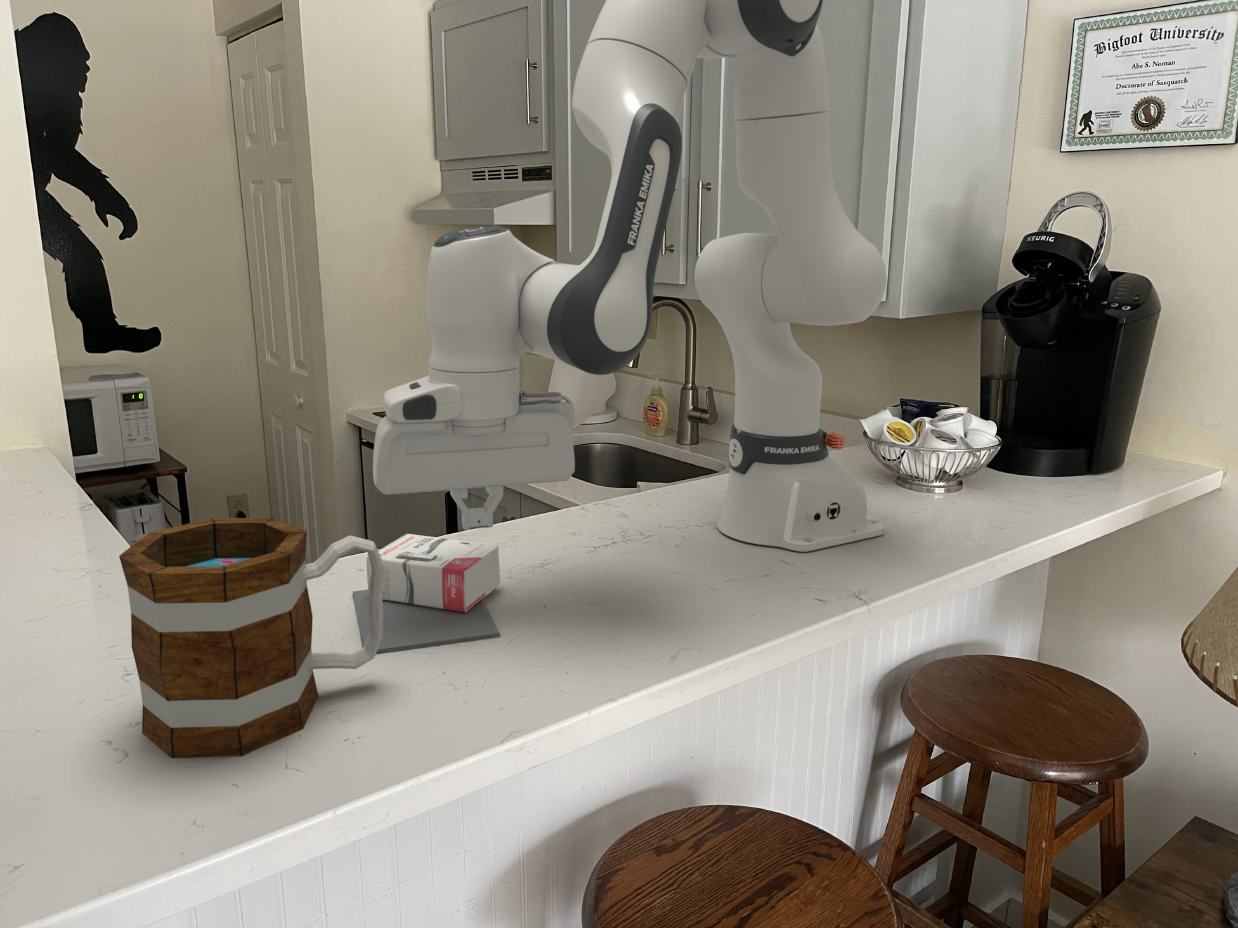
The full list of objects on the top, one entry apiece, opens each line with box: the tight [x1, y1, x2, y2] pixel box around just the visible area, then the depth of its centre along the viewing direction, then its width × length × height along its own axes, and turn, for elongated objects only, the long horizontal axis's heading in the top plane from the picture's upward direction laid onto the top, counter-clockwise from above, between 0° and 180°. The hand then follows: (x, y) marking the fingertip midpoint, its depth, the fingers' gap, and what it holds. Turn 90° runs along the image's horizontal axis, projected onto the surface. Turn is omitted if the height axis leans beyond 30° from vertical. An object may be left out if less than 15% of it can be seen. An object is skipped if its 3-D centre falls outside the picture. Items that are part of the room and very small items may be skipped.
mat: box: [352, 589, 501, 655], centre depth 94 cm, size 13×15×1 cm
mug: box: [118, 517, 384, 759], centre depth 74 cm, size 20×14×15 cm
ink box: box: [366, 533, 501, 613], centre depth 98 cm, size 9×5×12 cm
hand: (477, 527), depth 93 cm, fingers closed
